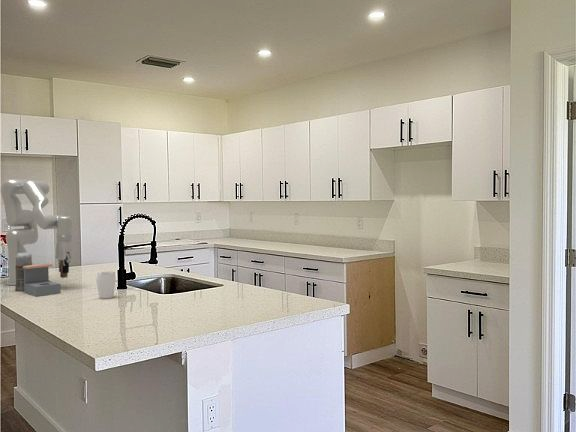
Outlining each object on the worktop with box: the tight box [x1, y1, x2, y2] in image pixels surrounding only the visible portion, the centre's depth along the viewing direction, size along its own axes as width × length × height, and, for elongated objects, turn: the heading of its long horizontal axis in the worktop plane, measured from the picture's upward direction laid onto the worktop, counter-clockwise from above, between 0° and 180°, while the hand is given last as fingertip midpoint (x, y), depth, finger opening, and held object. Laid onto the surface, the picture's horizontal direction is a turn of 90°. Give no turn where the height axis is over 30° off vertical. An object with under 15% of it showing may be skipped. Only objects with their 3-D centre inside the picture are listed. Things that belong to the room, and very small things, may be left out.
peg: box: [59, 259, 69, 279], centre depth 280 cm, size 4×4×12 cm
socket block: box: [23, 263, 61, 298], centre depth 267 cm, size 16×13×14 cm
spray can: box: [15, 251, 33, 292], centre depth 276 cm, size 8×8×20 cm
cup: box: [95, 271, 117, 299], centre depth 255 cm, size 9×9×12 cm
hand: (63, 272), depth 281 cm, fingers closed on peg, 3 cm apart
